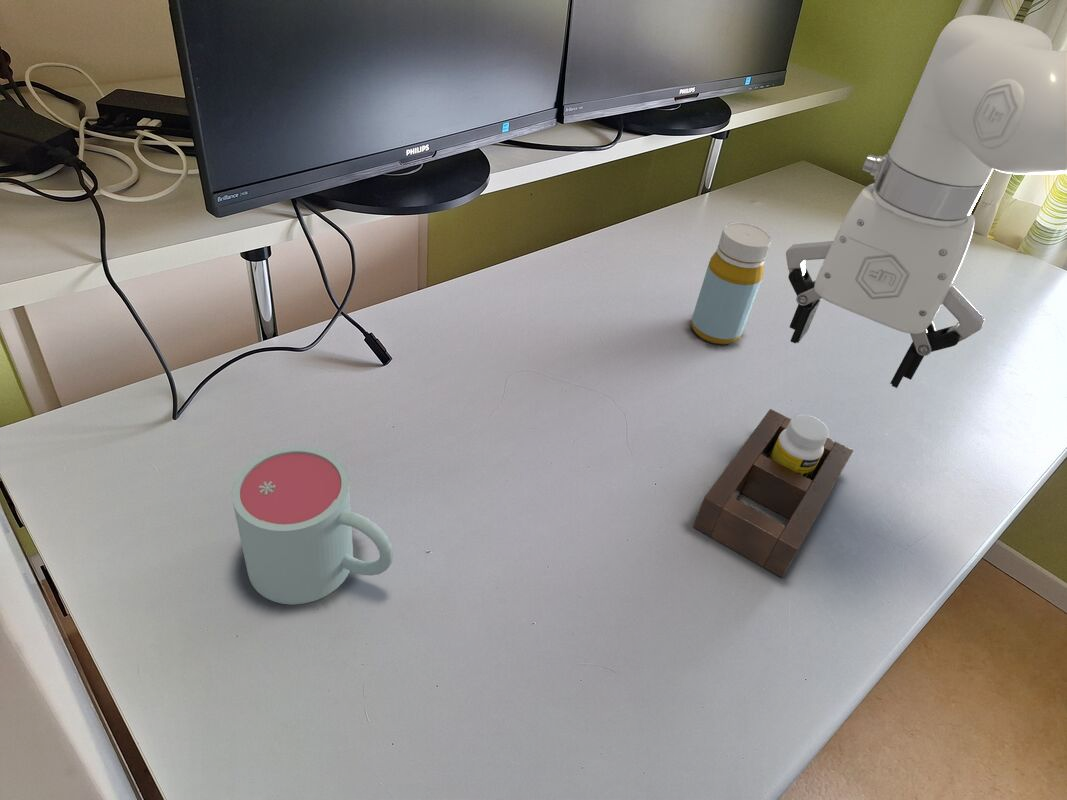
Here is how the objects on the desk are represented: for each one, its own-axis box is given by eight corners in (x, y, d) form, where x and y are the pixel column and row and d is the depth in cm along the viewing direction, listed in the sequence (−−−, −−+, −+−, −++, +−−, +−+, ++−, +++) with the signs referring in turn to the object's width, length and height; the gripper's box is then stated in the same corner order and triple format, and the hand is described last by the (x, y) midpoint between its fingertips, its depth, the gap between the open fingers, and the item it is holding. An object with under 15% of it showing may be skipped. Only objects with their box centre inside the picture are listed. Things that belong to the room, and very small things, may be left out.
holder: (838, 478, 85) (853, 449, 82) (782, 578, 74) (798, 549, 71) (757, 437, 89) (770, 408, 86) (692, 526, 77) (704, 497, 75)
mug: (225, 582, 66) (206, 507, 60) (286, 508, 73) (275, 433, 67) (366, 638, 64) (363, 566, 57) (415, 556, 71) (417, 484, 64)
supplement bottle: (786, 504, 81) (814, 449, 76) (752, 477, 84) (777, 421, 78) (812, 486, 84) (841, 431, 78) (778, 460, 86) (804, 405, 81)
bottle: (712, 310, 108) (743, 215, 98) (750, 336, 105) (786, 240, 95) (679, 325, 105) (708, 228, 95) (717, 352, 101) (752, 254, 91)
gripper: (808, 166, 62) (747, 337, 73) (1035, 243, 55) (929, 418, 66) (837, 143, 67) (775, 306, 78) (1047, 211, 60) (947, 379, 71)
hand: (846, 357), depth 72 cm, fingers open, 9 cm apart
